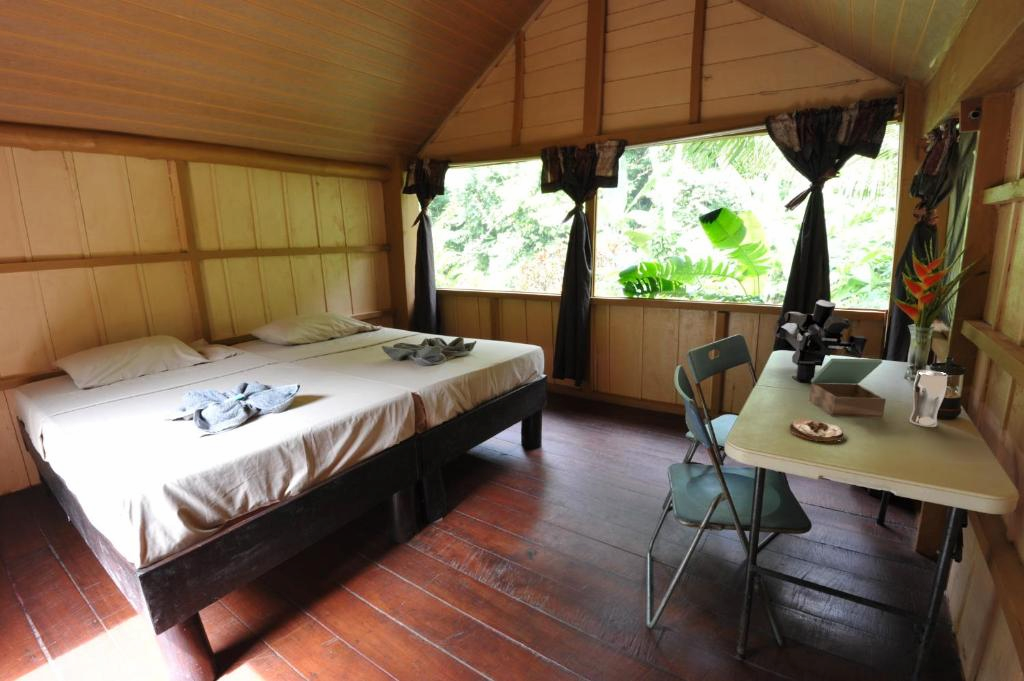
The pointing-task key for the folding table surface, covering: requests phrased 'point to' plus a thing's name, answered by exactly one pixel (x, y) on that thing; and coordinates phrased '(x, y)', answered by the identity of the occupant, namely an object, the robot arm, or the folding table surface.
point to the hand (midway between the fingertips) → (845, 355)
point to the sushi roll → (816, 430)
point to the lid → (846, 371)
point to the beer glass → (927, 397)
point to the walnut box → (847, 400)
